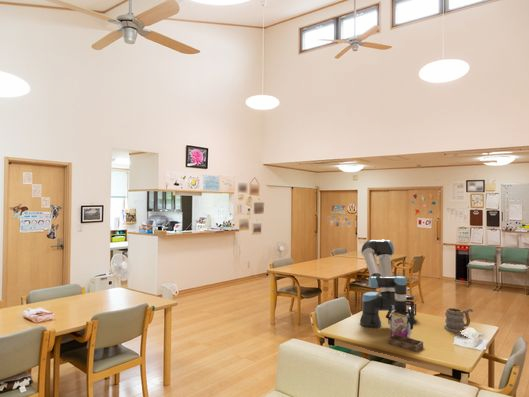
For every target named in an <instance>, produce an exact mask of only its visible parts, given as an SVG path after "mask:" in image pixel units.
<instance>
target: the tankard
mask: <svg viewBox="0 0 529 397" xmlns="http://www.w3.org/2000/svg"><path fill="white" fill-rule="evenodd" d="M470 312H471V313H473V312H474V310H473V309H472V308H470V307H469V308H466V309H465V310H464V309H463V310H462V309H460V308H456V307H448V308H446V312H445V317H446V318H445V323H446V325H443V329H445V330H447V331H448V332H451V333H461V332H460V331H462V330H464V329H465V330H466V327H469V326H470V324H471V319H470V316H469V314H470ZM464 318H465V319H466V322H465V320H464Z"/></svg>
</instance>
